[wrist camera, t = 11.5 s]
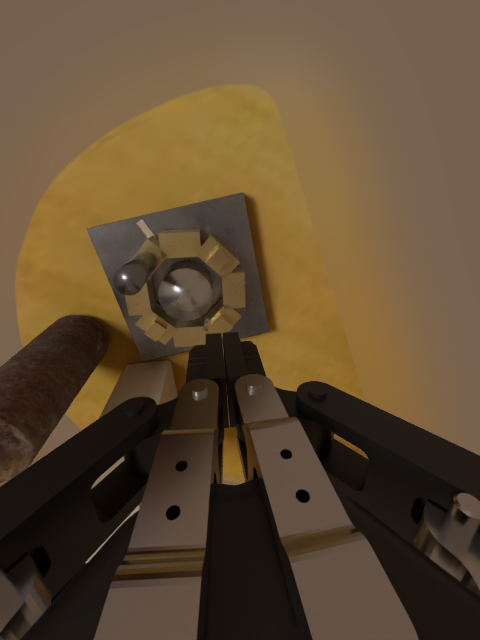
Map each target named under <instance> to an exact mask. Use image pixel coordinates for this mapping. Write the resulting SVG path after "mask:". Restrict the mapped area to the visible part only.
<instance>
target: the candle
mask: <svg viewBox="0 0 480 640" xmlns="http://www.w3.org/2000/svg"><path fill="white" fill-rule="evenodd" d="M108 343H109V341H108V337H107V334H106V333H105V332H104V330H103V329H102V327H101V326H100V325H99V324H98V323H97V322H95V321H94V320H93V319H91V318H88V317H84V316H79V315H68V316H65V317H62V318H60V319H58V320H57V321H55V322H54V323H53V324H52V325H51V326H49V327H48V328H47V329H46V330H44V331H43V332H42V333H41V334H40V335H38V336H37V337H36V338H35V339H33V340H32V341H31V342H30V343H29V344H28V345H26V346H25V347H24V348H23V349H22V350H20V351H19V352H18V353H17V354H16V355H15V356H13V357H12V358H11V359H10V360H9V361H8V362H6V363H5V364H4V365H2V366H1V367H0V483H1V482H4V481H10V480H11V479H12V478H14V477H15V476H17V475H18V474H20V473H21V472H23V471H24V470H25V469H26V468H27V467H28V466H29V465H30V464H31V463H32V461H33V460H34V458H35V457H36V455H37V454H38V452H39V451H40V449H41V448H42V446H43V445H44V443H45V442H46V440H47V439H48V437H49V436H50V434H51V433H52V431H53V430H54V428H55V427H56V426H57V424H58V423H59V421H60V419H61V418H62V417H63V415H64V414H65V412H66V411H67V409H68V408H69V406H70V404H71V403H72V401H73V400H74V398H75V397H76V396H77V394H78V393H79V391H80V390H81V388H82V387H83V385H84V384H85V383H86V381H87V380H88V378H89V377H90V375H91V374H92V372H93V371H94V369H95V368H96V367H97V365H98V364H99V362H100V361H101V359H102V357H103V356H104V354H105V353H106V351H107V348H108Z"/></svg>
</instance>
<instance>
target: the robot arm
mask: <svg viewBox="0 0 480 640" xmlns="http://www.w3.org/2000/svg"><path fill="white" fill-rule="evenodd" d="M223 349H224V356H223ZM224 364H225V366H224ZM226 386H227V391H226ZM227 396H228V407H229V417H230V427H236V430H237V444H238V449H239V454H240V459H241V463H242V468H243V473H244V477H245V483H242V484H240V485H235V486H234V485H226V484H222V478H223V440H224V428H229V422H228V407H227ZM334 434H336V435H338V436H340V437H341V438H343V439H345V440H346V441H348V442H350V443H351V444H353V445H355V446H357V447H358V448H360V449H361V450H362V451H364V452H365V454H366V455H367V456H368V458H369V460H368V459H367V458H365V457H363V456H362V455H360V454H358V453H357V452H355V451H353V450H352V449H350V448H348V447H347V446H345V445H343V444H342V443H340V442H338V441H337V440H335V439H333V438H334ZM123 456H124V461H123V462H122V463H121V464H119V465H118V466H117V467H116V468H115V469H114V470H113V471H111V472H110V473H109V474H108V475H107V476H106V477H105V478H104V479H102V480H101V481H100V482H99V483H98V484H97V485H96V486H94V487H93V488H92V486H93V484H94V483H95V481H96V480H97V479H98V478H99V477H100V476H101V475H102V474H103V473H105V472H106V471H107V470H108V469H109V468H110V467H111V466H113V465H114V464H115V463H116V462H117V461H118V460H120V459H121V458H122V457H123ZM333 487H334V488H333ZM91 488H92V489H91ZM140 503H141V505H140V509H139V510H138V511H137V512H136V513H134V514H133V515H132V516H130V517H129V518H128V519H127V520H126V521H125V522H124V523H123V524H122V522H123V521H124V520H125V519H126V518H127V517H128V516H129V515H130V514H131V513H132V512H133V511H134V510H135V508H136V507H137V506H138V505H139V504H140ZM121 524H122V525H121ZM120 525H121V526H120ZM119 526H120V527H119ZM118 527H119V528H118ZM117 528H118V529H117ZM116 529H117V530H116ZM115 530H116V531H115ZM114 531H115V532H114ZM113 532H114V534H113V535H112V536H111V537H110V538H109V536H110V535H111V534H112V533H113ZM108 538H109V539H108ZM107 539H108V540H107ZM106 540H107V541H106ZM105 541H106V543H105V544H104V545H103V546H102V547H101V548H100V549H99V551H98V552H97V553H96V554H95V555H94V556H93V557H92V559H91V560H90V561H89V562H88V563H87V564H86V565H85V566H84V568H83V569H82V570H81V571H80V572H79V573H78V575H77V576H76V577H75V578H74V579H73V580H72V581H71V583H69V585H68V586H67V587H66V588H65V589H64V590H63V592H62V593H61V594H60V595H59V596H58V597H57V598H56V599H55V601H54V602H53V603H52V604H51V605H50V603H51V599H52V598H53V596H55V595H56V593H57V592H58V591H59V590H60V589H61V588H62V587H63V586H64V585H65V584H66V582H68V581H69V579H70V578H71V577H72V576H73V575H74V574H75V573H76V572H77V571H78V569H80V568H81V566H82V565H83V564H84V563H85V562H86V561H87V560H88V559H89V558H90V557H91V556H92V555H93V554H94V553H95V552H96V550H97V549H98V548H99V547H100V546H101V545H102V544H103V543H104V542H105ZM0 640H480V456H479V455H477V454H475V453H473V452H470V451H468V450H466V449H464V448H462V447H460V446H458V445H456V444H454V443H451V442H449V441H447V440H445V439H443V438H441V437H439V436H437V435H434V434H432V433H430V432H428V431H426V430H424V429H421V428H419V427H418V426H415V425H413V424H411V423H409V422H407V421H405V420H403V419H400V418H398V417H396V416H394V415H392V414H390V413H388V412H386V411H384V410H381V409H379V408H377V407H375V406H373V405H371V404H369V403H367V402H364V401H362V400H360V399H358V398H356V397H354V396H352V395H350V394H347V393H345V392H343V391H341V390H339V389H337V388H335V387H333V386H330V385H328V384H326V383H323V382H318V381H310V382H305V383H303V384H301V385H300V386H299V387H298V388H297V392H294V391H287V390H282V389H279V388H276V387H274V385H273V383H272V381H271V380H270V379H269V378H267V377H266V374H265V371H264V368H263V365H262V362H261V359H260V356H259V353H258V350H257V346H256V345H254V344H253V343H252V342H251V341H243V342H240V338H239V334H238V332H225V333H223V346H222V336H221V333H213V334H206V343H205V345H195V346H194V347H193V348H192V349H191V350H190V352H189V360H188V368H187V377H186V384H185V385H183V386H182V388H181V389H180V392H179V395H178V397H177V398H175V399H173V400H171V401H168V402H166V403H162V404H159V405H157V403H156V401H155V400H154V399H152V398H149V397H135V398H131V399H128V400H126V401H124V402H123V403H121V404H120V405H118V406H117V407H115V408H114V409H112V410H111V411H109V412H108V413H107V414H105V415H104V416H102V417H101V418H99V419H98V420H96V421H95V422H94V423H92V424H91V425H89V426H88V427H86V428H85V429H83V430H82V431H81V432H79V433H78V434H76V435H75V436H73V437H72V438H70V439H69V440H67V441H66V442H65V443H63V444H62V445H60V446H59V447H57V448H56V449H54V450H53V451H52V452H50V453H49V454H47V455H46V456H44V457H43V458H42V459H40V460H39V461H37V462H36V463H34V464H33V465H31V466H30V467H29V468H27V469H25V470H24V471H23V472H21V473H20V474H18V475H17V476H15V477H14V478H12V479H11V480H10V481H8V482H7V483H5V484H4V485H2V486H1V487H0Z"/></svg>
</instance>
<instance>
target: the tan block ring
mask: <svg viewBox="0 0 480 640" xmlns="http://www.w3.org/2000/svg"><path fill="white" fill-rule="evenodd" d="M158 237H159V240H158V239H157V238H155V237H154V236H153V235H152V236H151V237H149V238H148V239H147V240H146V241H145V243H144V244H143V245H142V247H141V248H140V249H139V250H138V252H137V253H136V254H135V255H134V257H133V258H132V259H130V260H129V261H128V262H127V263H126V264H124V265H123V266H122V267H121V268H120V269H118V270H117V271H116V272H115V273H114V275H113V285H114V287H115V288H116V290H117V291H118V292H120V293H121V294H124V295H125V299H126V304H127V309H128V313H129V316H133V315H140V316H139V318H138V320H137V322H136V324H135V325H137V326H138V327H140V328H141V329H142V330H144V331H145V333H144V334H145V335H147V336H148V337H150V338H151V339H153V340H154V341H155V342H156V341H157V340H159V341H160V342H161V343H163V344H164V345H165V344H166V343H167V342H168V341H169V340H170V339H171V338H172V337H173V338H174V345H175V347H187V346H195V345H205V343H206V334H213V333H221V336H223V333H225V332H229V331H230V330H231V329H232V328H233V325H234V324H235V323H236V322H237V321H238V320H239V319H240V318H241V317H242V315H241V312H240V308H245V273H244V270H243V268H242V266H237V265H238V264H239V263H240V261H239V259H238V257H237V256H236V255H235V254H233V253H232V252H231V251H230V250H229V249H228V248H227V247H226V246H225V245H224V244H223V243H221V242H220V241H219V240H218V239H217V238H216V237H215V236H214V235H213V234H212V233H211V232H210V233H209V235H208V236H207V237H206V238H205V239H204V240H203V242H202V243H201V233H200V229H180V230H162V231H161V232H159V233H158ZM182 257H199V258H200V259H201V260H202V261H204V262H205V263H206V264H207V265H208V266H209V267H211V268H212V269H213V270H214V271H215V272H216V273H218V274H219V275H220V276H221V283H222V298H221V300H220V301H219V302H218V303H217V304H216V305H215V306H214V307H213V308H212V309H211V310H210V311H209V312H208V314H207V315H206V316H204V317H199V318H197V319H194V320H189V321H184V320H179V319H176V318H173V317H172V316H170V315H169V314H167V313H166V312H165V311H164V309H163V308H162V306H160V305H159V304H158V303H156V301H155V295H154V289H153V283H152V277H151V275H152V274H153V273H154V272H155V271H156V269H157V268H158V267H159V266H160V265H161V263H162V262H163V261H164V260H165V258H182Z"/></svg>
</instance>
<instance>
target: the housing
mask: <svg viewBox="0 0 480 640" xmlns="http://www.w3.org/2000/svg"><path fill="white" fill-rule="evenodd" d="M180 229H200V233H201V243H202V242H203V240H204V239H205V238H206V237H207V236H208V235H209V233H210V232H211V233H212V234H213V235H214V236H215V237H216V238H217V239H218V240H219V241H220V242H221V243H223V244H224V245H225V246H226V247H227V248H228V249H229V250H230V251H231V252H232V253H233V254H235V255H236V256H237V257H238V259H239V261H240V263H239V264H238V265H237V266H242V268H243V270H244V273H245V308H240V312H241V315H242V317H241V318H240V319H239V320H238V321H237V322H236V323H235V324H234V325H233V328H232V329H231V330H230V331H229V332H238V334H239V338H245V337H249V336H253V335H257V334H261V333H266V332H269V327H268V322H267V316H266V311H265V306H264V300H263V295H262V289H261V284H260V279H259V273H258V268H257V262H256V257H255V252H254V246H253V241H252V235H251V230H250V225H249V219H248V214H247V208H246V203H245V198H244V192H243V193H238V194H234V195H229V196H225V197H221V198H216V199H212V200H208V201H203V202H199V203H195V204H190V205H186V206H182V207H177V208H173V209H169V210H164V211H160V212H156V213H151V214H147V215H143V216H138V217H134V218H130V219H125V220H121V221H117V222H112V223H108V224H104V225H99V226H95V227H91V228H88V229H87V231H88V233H89V235H90V238H91V240H92V242H93V245H94V247H95V250H96V252H97V254H98V257H99V259H100V261H101V264H102V266H103V268H104V271H105V273H106V276H107V278H108V280H109V283H110V285H111V287H112V290H113V292H114V294H115V297H116V299H117V302H118V304H119V306H120V309H121V311H122V313H123V316H124V318H125V320H126V323H127V325H128V328H129V330H130V332H131V335H132V337H133V339H134V342H135V344H136V346H137V349H138V351H139V354H140V356H141V358H142V361H147V360H152V359H156V358H160V357H164V356H169V355H173V354H177V353H181V352H185V351H190V350H191V349H192V348H193V347H194V346H187V347H175V345H174V338H173V337H172V338H171V339H170V340H169V341H168V342H167V343H166V344H165V345H164V344H163V343H161V342H160V341H159V340H157V341H156V342H155V341H154V340H153V339H151V338H150V337H148V336H147V335H145V334H144V333H145V331H144V330H142V329H141V328H140V327H138V326H137V325H135V324H136V322H137V320H138V318H139V316H140V315H133V316H129V313H128V309H127V304H126V299H125V295H124V294H121V293H120V292H118V291H117V290H116V288H115V287H114V285H113V275H114V273H115V272H116V271H117V270H118V269H120V268H121V267H122V266H123V265H124V264H126V263H127V262H128V261H129V260H130V259H132V258H133V257H134V255H135V254H136V253H137V252H138V250H139V249H140V248H141V247H142V245H143V244H144V243H145V241H146V240H147V239H148V238H149V237H151V236H152V235H153V236H154V237H155V238H157V239H158V240H159V237H158V233H159V232H161V231H162V230H180ZM151 277H152V283H153V289H154V295H155V301H156V303H158V304H159V305H160V306H162V308H163V309H164V311H165V312H166V313H167V314H169V315H170V316H172V317H173V318H176V319H179V320H184V321H189V320H194V319H197V318H199V317H204V316H206V315H207V314H208V312H209V311H210V310H211V309H212V308H213V307H214V306H215V305H216V304H217V303H218V302H219V301H220V300H221V298H222V283H221V276H220V275H219V274H218V273H216V272H215V271H214V270H213V269H212V268H211V267H209V266H208V265H207V264H206V263H205V262H204V261H202V260H201V259H200V258H199V257H182V258H165V260H164V261H163V262H162V263H161V265H160V266H159V267H158V268H157V269H156V271H155V272H154V273H153V274H152V275H151ZM222 343H223V336H222Z"/></svg>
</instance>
